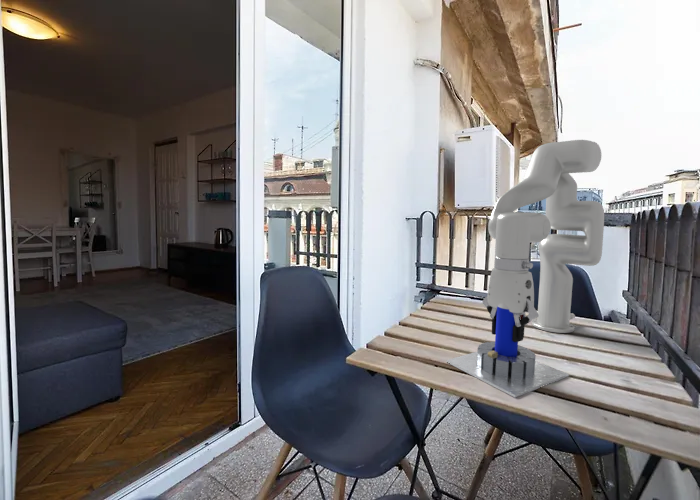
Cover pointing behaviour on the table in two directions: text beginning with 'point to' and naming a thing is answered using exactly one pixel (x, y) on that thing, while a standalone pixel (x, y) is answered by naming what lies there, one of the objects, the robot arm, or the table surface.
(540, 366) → the hub
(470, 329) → the table surface
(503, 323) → the beverage can
